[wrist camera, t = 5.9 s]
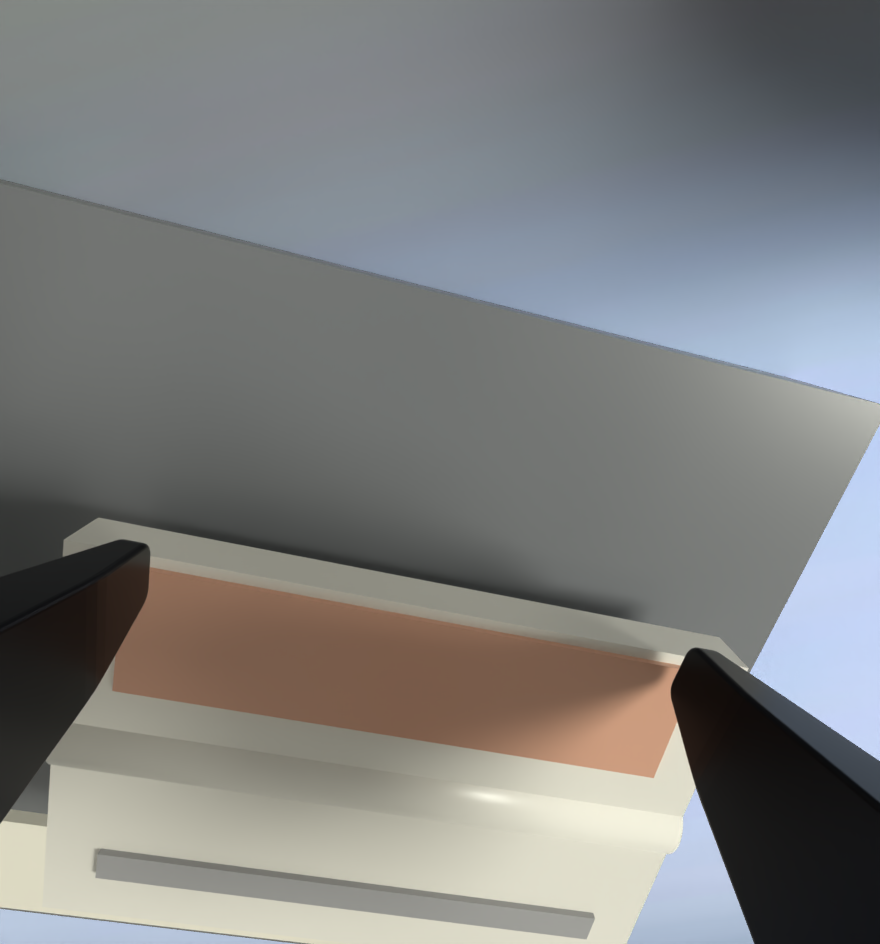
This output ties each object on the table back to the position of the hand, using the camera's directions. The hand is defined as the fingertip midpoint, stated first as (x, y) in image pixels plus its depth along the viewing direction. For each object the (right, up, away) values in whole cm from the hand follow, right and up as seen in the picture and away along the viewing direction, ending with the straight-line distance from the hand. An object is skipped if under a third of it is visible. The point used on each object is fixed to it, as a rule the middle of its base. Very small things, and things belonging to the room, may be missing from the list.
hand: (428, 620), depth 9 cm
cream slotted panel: (-1, -4, +2) cm, 4 cm away
